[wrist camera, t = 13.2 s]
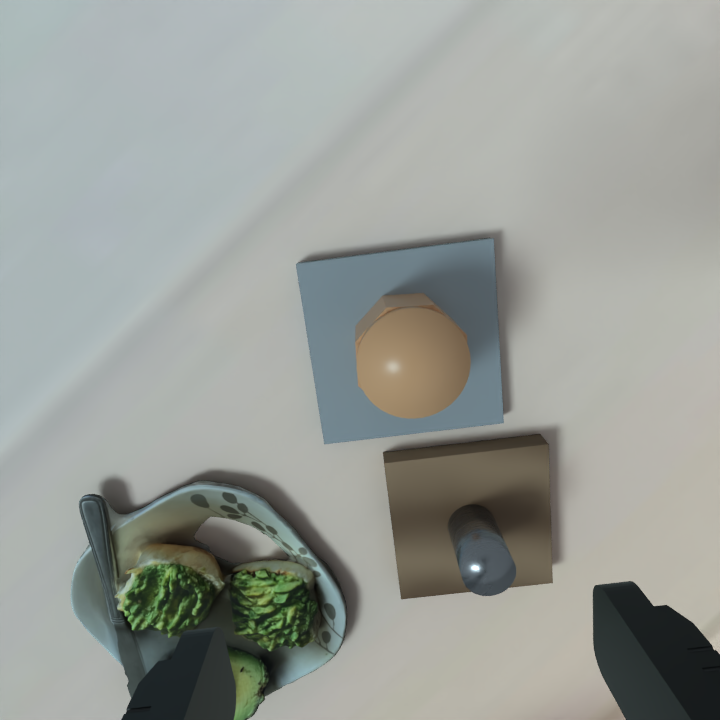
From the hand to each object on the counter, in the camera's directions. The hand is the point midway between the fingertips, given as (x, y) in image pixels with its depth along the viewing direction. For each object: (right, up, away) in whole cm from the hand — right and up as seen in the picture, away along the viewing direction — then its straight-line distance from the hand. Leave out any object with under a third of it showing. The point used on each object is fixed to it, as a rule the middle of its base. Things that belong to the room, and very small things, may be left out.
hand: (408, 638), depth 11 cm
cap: (+2, +7, +19) cm, 20 cm away
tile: (+2, +7, +20) cm, 21 cm away
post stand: (+6, -4, +23) cm, 24 cm away
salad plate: (-11, -11, +25) cm, 30 cm away
